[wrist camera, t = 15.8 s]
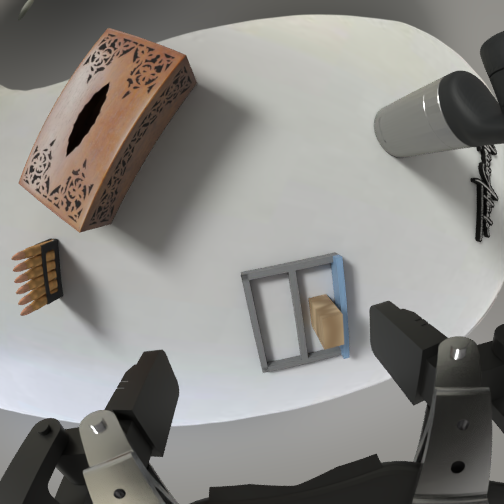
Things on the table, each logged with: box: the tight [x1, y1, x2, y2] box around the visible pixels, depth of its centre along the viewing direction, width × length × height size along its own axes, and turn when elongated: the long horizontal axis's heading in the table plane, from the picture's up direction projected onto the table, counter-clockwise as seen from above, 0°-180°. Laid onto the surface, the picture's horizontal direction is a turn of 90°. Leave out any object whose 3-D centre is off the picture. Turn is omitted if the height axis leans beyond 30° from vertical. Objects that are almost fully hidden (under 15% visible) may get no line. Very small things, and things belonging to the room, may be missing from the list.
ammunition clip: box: [12, 239, 63, 316], centre depth 35 cm, size 11×2×12 cm, turn 176°
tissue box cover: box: [19, 28, 197, 232], centre depth 32 cm, size 26×14×10 cm, turn 147°
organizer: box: [241, 253, 349, 373], centre depth 42 cm, size 15×18×3 cm
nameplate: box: [471, 144, 498, 242], centre depth 40 cm, size 28×2×10 cm
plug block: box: [308, 294, 344, 349], centre depth 40 cm, size 3×5×8 cm, turn 11°
